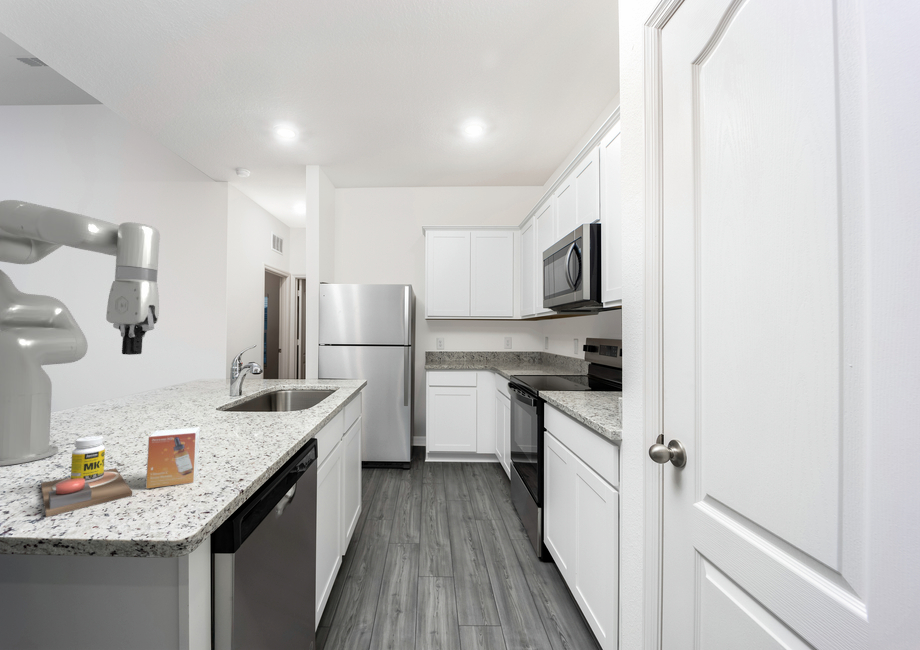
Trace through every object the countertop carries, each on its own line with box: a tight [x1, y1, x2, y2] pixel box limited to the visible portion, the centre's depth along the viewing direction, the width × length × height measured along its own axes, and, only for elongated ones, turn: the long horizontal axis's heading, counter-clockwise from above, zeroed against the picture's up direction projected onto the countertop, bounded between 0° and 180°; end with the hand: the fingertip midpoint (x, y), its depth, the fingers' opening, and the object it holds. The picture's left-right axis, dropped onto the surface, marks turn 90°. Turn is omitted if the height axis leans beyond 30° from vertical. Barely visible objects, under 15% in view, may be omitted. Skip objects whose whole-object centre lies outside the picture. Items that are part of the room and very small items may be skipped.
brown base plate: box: [40, 467, 133, 518], centre depth 73 cm, size 18×11×2 cm, turn 50°
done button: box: [56, 478, 85, 494], centre depth 67 cm, size 4×4×1 cm
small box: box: [145, 426, 201, 489], centre depth 78 cm, size 8×6×10 cm
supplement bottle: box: [70, 435, 106, 483], centre depth 75 cm, size 5×5×8 cm
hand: (131, 354), depth 88 cm, fingers closed
